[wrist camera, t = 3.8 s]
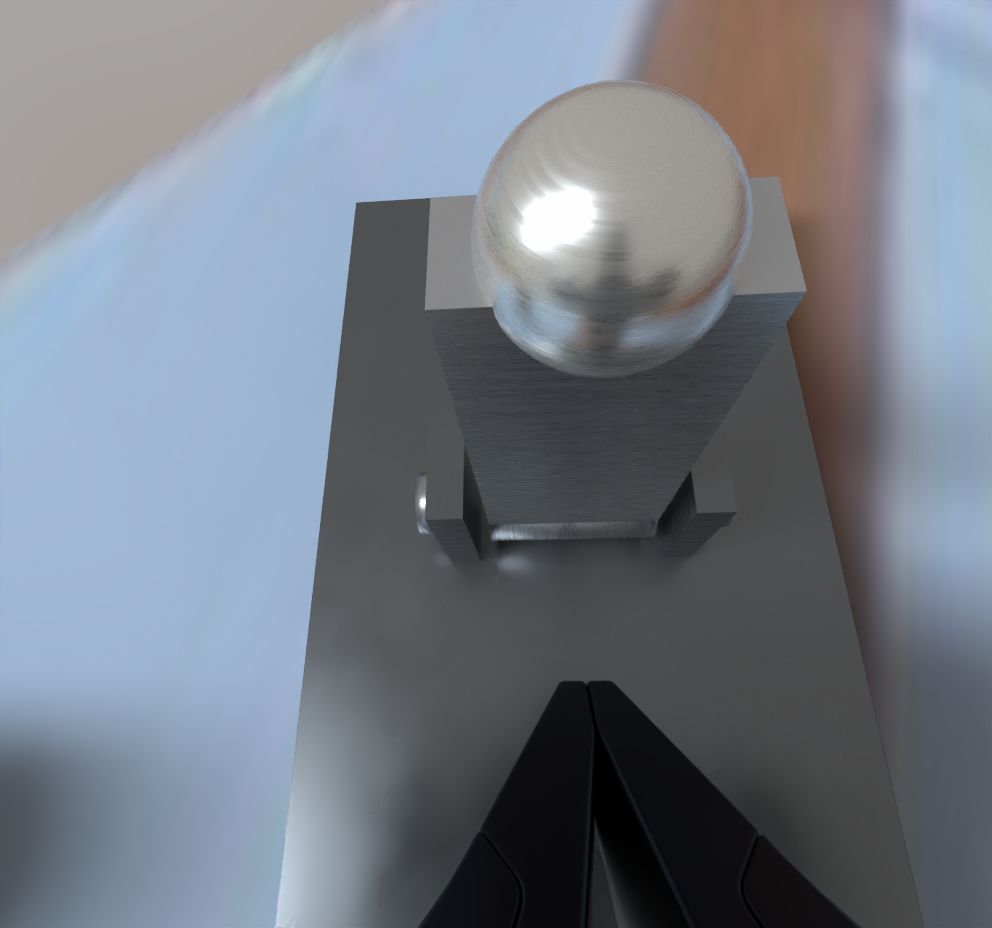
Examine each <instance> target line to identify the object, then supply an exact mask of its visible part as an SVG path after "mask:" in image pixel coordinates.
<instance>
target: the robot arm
mask: <svg viewBox="0 0 992 928" xmlns="http://www.w3.org/2000/svg"><path fill="white" fill-rule="evenodd" d="M595 824H596V829H597V835H598V840H599V844H600V849H601V853H602V858H603V862H604V867H605V871H606V876H607V880H608V885H609V889H610V894H611V898H612V903H613V907H614V912H615V916H616V921H617V925H618V928H862V927H861V926H860V925H858V924H857V923H856V922H855V921H854V920H853V919H852V918H851V917H850V916H848V915H847V914H846V913H845V912H844V911H843V910H842V909H841V908H839V907H838V906H837V905H836V904H835V903H834V902H833V901H832V900H831V899H829V898H828V897H827V896H826V895H825V894H824V893H823V892H822V891H821V890H820V889H819V888H818V887H817V886H816V885H814V884H813V883H812V882H811V881H810V880H809V879H808V878H807V877H806V876H805V875H804V874H803V873H802V872H801V871H800V870H799V869H798V868H797V867H796V866H795V865H794V864H793V863H792V862H791V861H790V860H789V859H788V858H787V857H786V856H785V855H784V854H783V853H782V852H781V851H780V850H779V849H778V848H777V847H776V846H775V845H774V844H773V843H772V842H771V841H770V840H769V839H768V838H767V837H766V836H765V835H760V832H759V830H758V829H757V828H756V827H755V826H754V825H753V824H752V823H751V822H750V821H749V820H748V819H747V818H746V817H745V816H744V815H743V814H742V813H741V812H740V811H739V810H738V809H737V808H736V807H735V806H734V805H733V804H732V802H731V801H730V800H729V799H728V798H727V797H726V796H725V795H724V794H723V793H722V792H721V791H720V790H719V789H718V788H717V787H716V786H715V785H714V784H713V783H712V782H711V781H710V780H709V779H708V778H707V777H706V776H705V775H704V774H703V773H702V772H701V771H700V770H699V769H698V768H697V767H696V766H695V765H694V764H693V763H692V762H691V761H690V760H689V759H688V758H687V757H686V756H685V755H684V753H683V752H682V751H681V750H680V749H679V748H678V747H677V746H676V745H675V744H674V743H673V742H672V741H671V740H670V739H669V738H668V737H667V736H666V735H665V734H664V733H663V732H662V731H661V730H660V729H659V728H658V727H657V726H656V725H655V724H654V723H653V722H652V721H651V720H650V719H649V718H648V717H647V716H646V715H645V714H644V713H643V712H642V711H641V710H640V709H639V708H638V707H637V706H636V704H635V703H634V702H633V701H632V700H631V699H630V698H629V697H628V696H627V695H626V694H625V693H624V692H623V691H622V690H621V689H620V688H619V687H618V686H617V685H616V684H615V683H614V682H612V681H609V680H604V681H589V682H588V683H587V685H586V684H585V682H583V681H561V682H560V683H559V684H558V686H557V687H556V689H555V691H554V693H553V695H552V697H551V698H550V700H549V702H548V704H547V706H546V707H545V709H544V711H543V713H542V715H541V717H540V718H539V720H538V722H537V724H536V726H535V727H534V729H533V731H532V733H531V735H530V737H529V738H528V740H527V742H526V744H525V746H524V748H523V749H522V751H521V753H520V755H519V757H518V758H517V760H516V762H515V764H514V766H513V768H512V769H511V771H510V773H509V775H508V777H507V778H506V780H505V782H504V784H503V786H502V788H501V789H500V791H499V793H498V795H497V797H496V798H495V800H494V802H493V804H492V806H491V808H490V809H489V811H488V813H487V815H486V817H485V818H484V820H483V822H482V824H481V826H480V828H479V832H477V833H476V834H475V835H474V837H473V839H472V841H471V842H470V844H469V846H468V848H467V850H466V852H465V853H464V855H463V857H462V859H461V860H460V862H459V864H458V865H457V867H456V869H455V870H454V872H453V874H452V875H451V877H450V879H449V880H448V882H447V884H446V885H445V887H444V889H443V890H442V891H441V893H440V894H439V896H438V897H437V899H436V900H435V902H434V903H433V905H432V906H431V907H430V909H429V910H428V912H427V913H426V915H425V916H424V918H423V919H422V920H421V922H420V923H419V925H418V926H417V928H592V903H593V870H594V834H595Z"/></svg>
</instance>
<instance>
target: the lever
mask: <svg viewBox="0 0 992 928" xmlns="http://www.w3.org/2000/svg"><path fill="white" fill-rule="evenodd" d="M806 292H807V289H806V285H805V281H804V277H803V273H802V269H801V265H800V261H799V257H798V253H797V249H796V245H795V241H794V237H793V233H792V229H791V225H790V221H789V217H788V213H787V209H786V205H785V201H784V197H783V193H782V189H781V185H780V181H779V177H763V178H748V175H747V172H746V169H745V166H744V164H743V161H742V159H741V157H740V155H739V153H738V151H737V149H736V147H735V145H734V143H733V141H732V140H731V139H730V137H729V136H728V134H727V133H726V132H725V130H724V129H723V128H722V127H721V125H720V124H719V123H718V122H717V121H716V120H715V119H714V118H713V117H712V116H711V114H710V113H708V112H707V111H706V110H705V109H703V108H702V107H701V106H699V105H698V104H697V103H695V102H694V101H692V100H691V99H689V98H687V97H686V96H684V95H682V94H680V93H678V92H676V91H674V90H672V89H669V88H666V87H664V86H661V85H657V84H653V83H649V82H642V81H634V80H610V81H601V82H596V83H591V84H587V85H583V86H580V87H577V88H574V89H572V90H570V91H567V92H565V93H563V94H561V95H559V96H557V97H555V98H553V99H551V100H549V101H548V102H546V103H544V104H543V105H541V106H540V107H539V108H537V109H536V110H535V111H533V112H532V113H531V114H530V115H529V116H528V117H526V118H525V119H524V120H523V121H522V122H521V123H520V124H519V125H518V126H516V128H515V129H514V130H513V131H512V132H511V133H510V135H509V136H508V137H507V138H506V140H505V141H504V142H503V144H502V145H501V146H500V148H499V149H498V151H497V152H496V154H495V156H494V157H493V159H492V161H491V163H490V165H489V167H488V169H487V171H486V173H485V175H484V178H483V180H482V182H481V185H480V188H479V192H478V195H470V196H454V197H438V198H430V216H429V236H428V256H427V276H426V296H425V312H426V316H427V319H428V322H429V326H430V329H431V332H432V336H433V339H434V342H435V346H436V349H437V352H438V356H439V359H440V362H441V366H442V369H443V372H444V376H445V379H446V382H447V386H448V389H449V392H450V396H451V399H452V402H453V406H454V409H455V412H456V416H457V419H458V422H459V426H460V429H461V432H462V436H463V439H464V442H465V446H466V449H467V452H468V456H469V459H470V462H471V466H472V469H473V472H474V476H475V479H476V482H477V486H478V489H479V493H480V496H481V499H482V503H483V506H484V509H485V513H486V516H487V519H488V523H489V528H490V536H491V540H492V541H506V540H550V539H594V538H638V537H654V535H655V533H656V529H657V524H658V520H659V518H660V517H661V515H662V514H663V512H664V511H665V509H666V508H667V506H668V505H669V503H670V501H671V500H672V498H673V497H674V495H675V494H676V492H677V491H678V489H679V488H680V486H681V485H682V483H683V481H684V480H685V478H686V477H687V475H688V474H689V472H690V471H691V469H692V468H693V466H694V465H695V463H696V461H697V460H698V458H699V457H700V455H701V454H702V452H703V451H704V449H705V448H706V446H707V445H708V443H709V441H710V440H711V438H712V437H713V435H714V434H715V432H716V431H717V429H718V428H719V426H720V424H721V423H722V421H723V420H724V418H725V417H726V415H727V414H728V412H729V411H730V409H731V408H732V406H733V404H734V403H735V401H736V400H737V398H738V397H739V395H740V394H741V392H742V391H743V389H744V388H745V386H746V384H747V383H748V381H749V380H750V378H751V377H752V375H753V374H754V372H755V371H756V369H757V368H758V366H759V364H760V363H761V361H762V360H763V358H764V357H765V355H766V354H767V352H768V351H769V349H770V348H771V346H772V344H773V343H774V341H775V340H776V338H777V337H778V335H779V334H780V332H781V331H782V329H783V328H784V326H785V324H786V323H787V321H788V320H789V318H790V317H791V315H792V314H793V312H794V311H795V309H796V308H797V306H798V304H799V303H800V301H801V300H802V298H803V297H804V295H805V294H806Z"/></svg>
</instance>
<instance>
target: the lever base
mask: <svg viewBox="0 0 992 928" xmlns="http://www.w3.org/2000/svg"><path fill="white" fill-rule="evenodd" d="M429 216H430V198H425V199H409V200H393V201H377V202H360V203H356V210H355V219H354V228H353V237H352V246H351V255H350V264H349V273H348V282H347V291H346V300H345V309H344V317H343V326H342V335H341V344H340V353H339V362H338V371H337V380H336V389H335V398H334V407H333V416H332V425H331V433H330V442H329V451H328V460H327V469H326V478H325V487H324V496H323V505H322V514H321V523H320V532H319V541H318V549H317V558H316V567H315V576H314V585H313V594H312V603H311V612H310V621H309V630H308V639H307V648H306V657H305V665H304V674H303V683H302V692H301V701H300V710H299V719H298V728H297V737H296V746H295V755H294V764H293V772H292V781H291V790H290V799H289V808H288V817H287V826H286V835H285V844H284V853H283V862H282V871H281V880H280V888H279V897H278V906H277V915H276V924H275V928H417V926H418V925H419V923H420V922H421V920H422V919H423V918H424V916H425V915H426V913H427V912H428V910H429V909H430V907H431V906H432V905H433V903H434V902H435V900H436V899H437V897H438V896H439V894H440V893H441V891H442V890H443V889H444V887H445V885H446V884H447V882H448V880H449V879H450V877H451V875H452V874H453V872H454V870H455V869H456V867H457V865H458V864H459V862H460V860H461V859H462V857H463V855H464V853H465V852H466V850H467V848H468V846H469V844H470V842H471V841H472V839H473V837H474V835H475V834H476V833H477V832H479V828H480V826H481V824H482V822H483V820H484V818H485V817H486V815H487V813H488V811H489V809H490V808H491V806H492V804H493V802H494V800H495V798H496V797H497V795H498V793H499V791H500V789H501V788H502V786H503V784H504V782H505V780H506V778H507V777H508V775H509V773H510V771H511V769H512V768H513V766H514V764H515V762H516V760H517V758H518V757H519V755H520V753H521V751H522V749H523V748H524V746H525V744H526V742H527V740H528V738H529V737H530V735H531V733H532V731H533V729H534V727H535V726H536V724H537V722H538V720H539V718H540V717H541V715H542V713H543V711H544V709H545V707H546V706H547V704H548V702H549V700H550V698H551V697H552V695H553V693H554V691H555V689H556V687H557V686H558V684H559V683H560V682H561V681H583V682H585V684H586V685H587V683H588V682H589V681H604V680H609V681H612V682H614V683H615V684H616V685H617V686H618V687H619V688H620V689H621V690H622V691H623V692H624V693H625V694H626V695H627V696H628V697H629V698H630V699H631V700H632V701H633V702H634V703H635V704H636V706H637V707H638V708H639V709H640V710H641V711H642V712H643V713H644V714H645V715H646V716H647V717H648V718H649V719H650V720H651V721H652V722H653V723H654V724H655V725H656V726H657V727H658V728H659V729H660V730H661V731H662V732H663V733H664V734H665V735H666V736H667V737H668V738H669V739H670V740H671V741H672V742H673V743H674V744H675V745H676V746H677V747H678V748H679V749H680V750H681V751H682V752H683V753H684V755H685V756H686V757H687V758H688V759H689V760H690V761H691V762H692V763H693V764H694V765H695V766H696V767H697V768H698V769H699V770H700V771H701V772H702V773H703V774H704V775H705V776H706V777H707V778H708V779H709V780H710V781H711V782H712V783H713V784H714V785H715V786H716V787H717V788H718V789H719V790H720V791H721V792H722V793H723V794H724V795H725V796H726V797H727V798H728V799H729V800H730V801H731V802H732V804H733V805H734V806H735V807H736V808H737V809H738V810H739V811H740V812H741V813H742V814H743V815H744V816H745V817H746V818H747V819H748V820H749V821H750V822H751V823H752V824H753V825H754V826H755V827H756V828H757V829H758V830H759V832H760V835H765V836H766V837H767V838H768V839H769V840H770V841H771V842H772V843H773V844H774V845H775V846H776V847H777V848H778V849H779V850H780V851H781V852H782V853H783V854H784V855H785V856H786V857H787V858H788V859H789V860H790V861H791V862H792V863H793V864H794V865H795V866H796V867H797V868H798V869H799V870H800V871H801V872H802V873H803V874H804V875H805V876H806V877H807V878H808V879H809V880H810V881H811V882H812V883H813V884H814V885H816V886H817V887H818V888H819V889H820V890H821V891H822V892H823V893H824V894H825V895H826V896H827V897H828V898H829V899H831V900H832V901H833V902H834V903H835V904H836V905H837V906H838V907H839V908H841V909H842V910H843V911H844V912H845V913H846V914H847V915H848V916H850V917H851V918H852V919H853V920H854V921H855V922H856V923H857V924H858V925H860V926H861V927H862V928H924V926H923V921H922V917H921V913H920V908H919V904H918V900H917V895H916V891H915V886H914V882H913V878H912V873H911V869H910V864H909V860H908V856H907V851H906V847H905V842H904V838H903V834H902V829H901V825H900V820H899V816H898V812H897V807H896V803H895V798H894V794H893V790H892V785H891V781H890V777H889V772H888V768H887V763H886V759H885V755H884V750H883V746H882V741H881V737H880V733H879V728H878V724H877V719H876V715H875V711H874V706H873V702H872V697H871V693H870V689H869V684H868V680H867V676H866V671H865V667H864V662H863V658H862V654H861V649H860V645H859V640H858V636H857V632H856V627H855V623H854V618H853V614H852V610H851V605H850V601H849V596H848V592H847V588H846V583H845V579H844V574H843V570H842V566H841V561H840V557H839V553H838V548H837V544H836V539H835V535H834V531H833V526H832V522H831V517H830V513H829V509H828V504H827V500H826V495H825V491H824V487H823V482H822V478H821V473H820V469H819V465H818V460H817V456H816V451H815V447H814V443H813V438H812V434H811V430H810V425H809V421H808V416H807V412H806V408H805V403H804V399H803V394H802V390H801V386H800V381H799V377H798V372H797V368H796V364H795V359H794V355H793V350H792V346H791V342H790V337H789V333H788V329H787V324H785V326H784V328H783V329H782V331H781V332H780V334H779V335H778V337H777V338H776V340H775V341H774V343H773V344H772V346H771V348H770V349H769V351H768V352H767V354H766V355H765V357H764V358H763V360H762V361H761V363H760V364H759V366H758V368H757V369H756V371H755V372H754V374H753V375H752V377H751V378H750V380H749V381H748V383H747V384H746V386H745V388H744V389H743V391H742V392H741V394H740V395H739V397H738V398H737V400H736V401H735V403H734V404H733V406H732V408H731V409H730V411H729V412H728V414H727V415H726V417H725V418H724V420H723V421H722V423H721V424H720V426H719V428H718V429H717V431H716V432H715V434H714V435H713V437H712V438H711V440H710V441H709V443H708V445H707V446H706V448H705V449H704V451H703V452H702V454H701V455H700V457H699V458H698V460H697V461H696V463H695V465H694V466H693V468H692V469H691V471H690V472H689V474H688V475H687V477H686V478H685V480H684V481H683V483H682V485H681V486H680V488H679V489H678V491H677V492H676V494H675V495H674V497H673V498H672V500H671V501H670V503H669V505H668V506H667V508H666V509H665V511H664V512H663V514H662V515H661V517H660V518H659V520H658V524H657V529H656V533H655V535H654V537H638V538H594V539H550V540H506V541H492V540H491V536H490V528H489V523H488V519H487V516H486V513H485V509H484V506H483V503H482V499H481V496H480V493H479V489H478V486H477V482H476V479H475V476H474V472H473V469H472V466H471V462H470V459H469V456H468V452H467V449H466V446H465V442H464V439H463V436H462V432H461V429H460V426H459V422H458V419H457V416H456V412H455V409H454V406H453V402H452V399H451V396H450V392H449V389H448V386H447V382H446V379H445V376H444V372H443V369H442V366H441V362H440V359H439V356H438V352H437V349H436V346H435V342H434V339H433V336H432V332H431V329H430V326H429V322H428V319H427V316H426V312H425V296H426V276H427V256H428V236H429ZM592 928H618V925H617V921H616V916H615V912H614V907H613V903H612V898H611V894H610V889H609V885H608V880H607V876H606V871H605V867H604V862H603V858H602V853H601V849H600V844H599V840H598V835H597V829H596V824H595V834H594V870H593V903H592Z"/></svg>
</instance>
